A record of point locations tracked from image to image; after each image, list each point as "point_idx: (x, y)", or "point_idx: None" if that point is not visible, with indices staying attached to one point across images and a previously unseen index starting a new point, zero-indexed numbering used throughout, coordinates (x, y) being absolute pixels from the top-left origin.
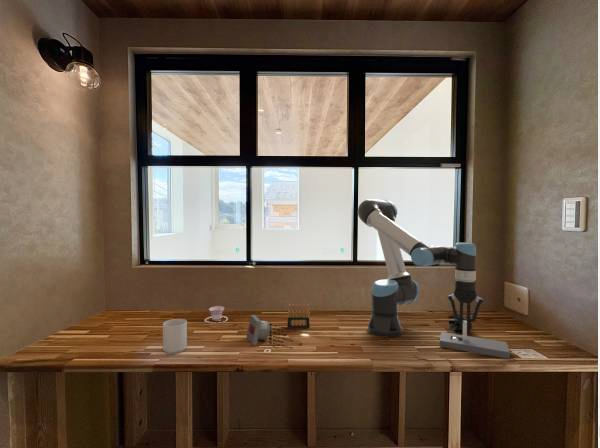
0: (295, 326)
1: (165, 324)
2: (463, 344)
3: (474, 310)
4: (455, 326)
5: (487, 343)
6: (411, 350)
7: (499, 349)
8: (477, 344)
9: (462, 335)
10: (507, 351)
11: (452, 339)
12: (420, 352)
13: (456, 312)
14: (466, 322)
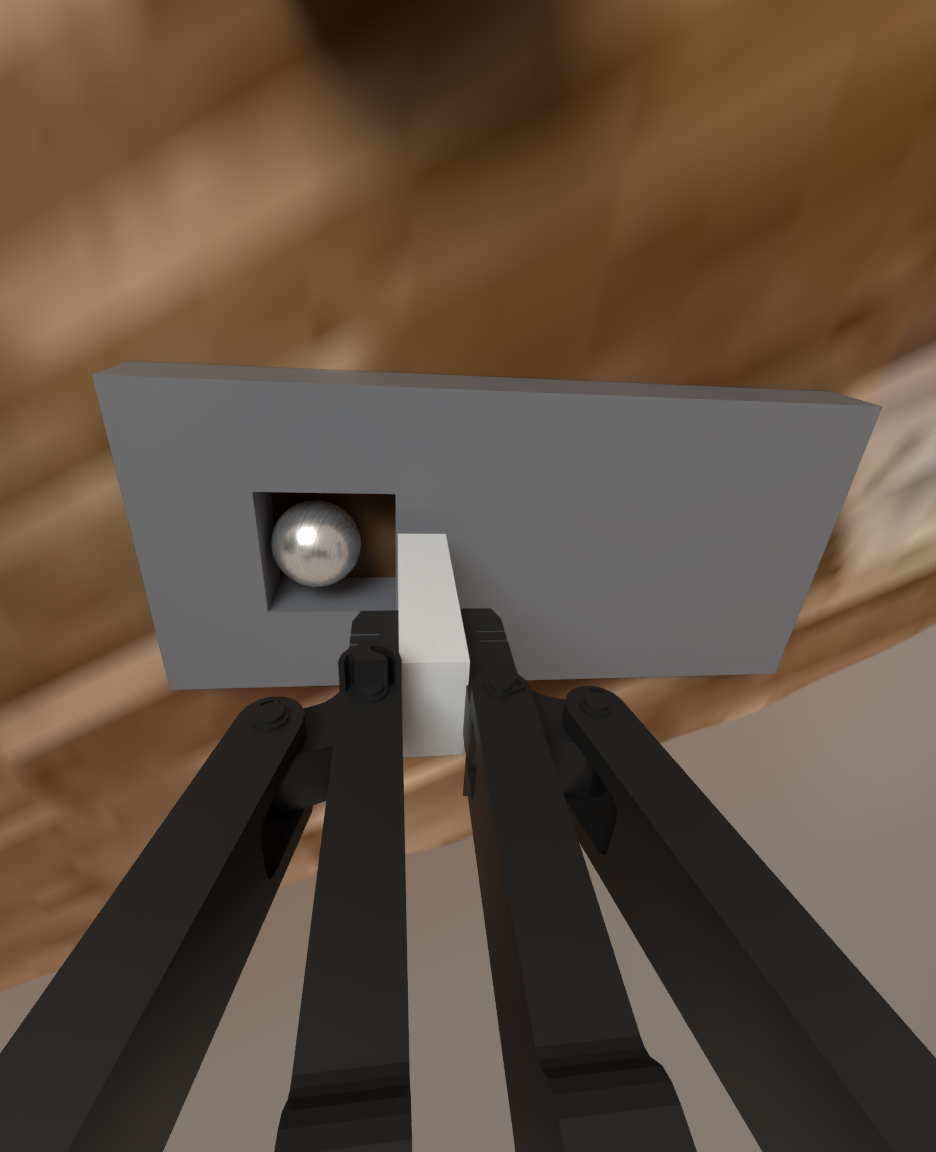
0: None
1: None
2: None
3: (674, 968)
4: None
5: (647, 551)
6: (5, 819)
7: (711, 651)
8: (539, 623)
9: (395, 401)
10: (762, 664)
11: (287, 575)
12: (86, 819)
13: (259, 922)
14: (456, 749)
